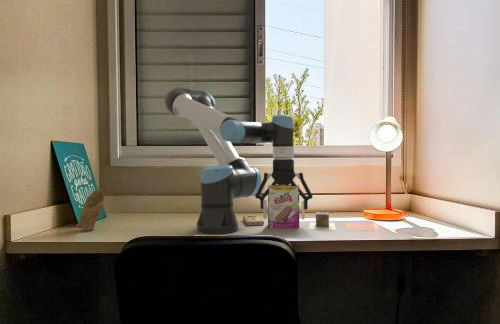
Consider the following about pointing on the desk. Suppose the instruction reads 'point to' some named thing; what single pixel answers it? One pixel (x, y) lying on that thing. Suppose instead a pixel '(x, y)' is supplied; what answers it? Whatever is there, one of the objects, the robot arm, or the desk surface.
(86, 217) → the figurine
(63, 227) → the desk surface
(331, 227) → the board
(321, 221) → the walnut block
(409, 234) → the desk surface
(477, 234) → the desk surface
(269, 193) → the candy bar box
